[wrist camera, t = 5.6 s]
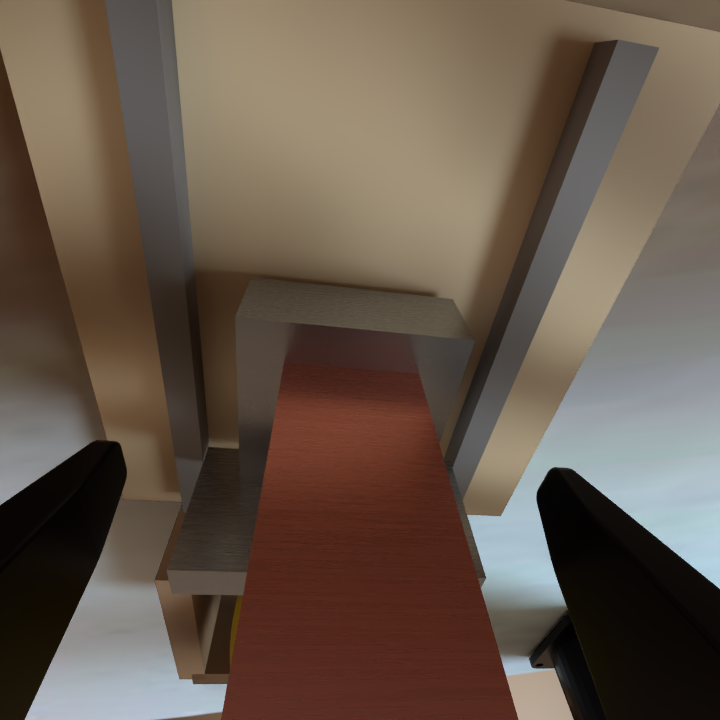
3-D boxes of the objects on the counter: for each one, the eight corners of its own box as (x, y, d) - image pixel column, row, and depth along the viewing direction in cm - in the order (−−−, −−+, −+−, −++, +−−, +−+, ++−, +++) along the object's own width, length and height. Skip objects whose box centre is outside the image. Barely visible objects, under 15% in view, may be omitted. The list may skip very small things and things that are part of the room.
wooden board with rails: (491, 490, 17) (507, 534, 16) (136, 472, 16) (113, 519, 14) (708, 43, 9) (790, 36, 7) (3, -100, 7) (-92, -150, 6)
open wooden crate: (405, 589, 21) (418, 682, 18) (205, 585, 20) (180, 684, 17) (444, 488, 17) (471, 587, 14) (191, 475, 16) (154, 580, 13)
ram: (437, 463, 14) (555, 903, 7) (216, 450, 13) (62, 940, 6) (494, 303, 11) (861, 825, 3) (203, 272, 10) (-203, 884, 2)
